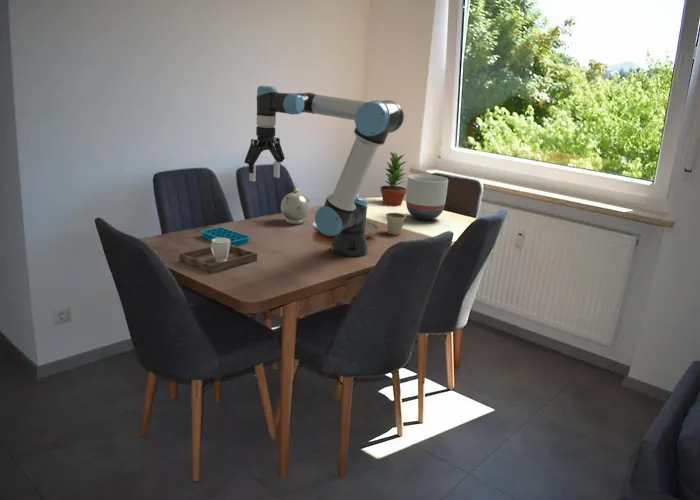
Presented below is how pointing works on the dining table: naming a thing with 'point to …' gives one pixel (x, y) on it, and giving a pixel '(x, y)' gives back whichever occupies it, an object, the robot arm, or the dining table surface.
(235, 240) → the ice cube tray
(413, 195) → the planter
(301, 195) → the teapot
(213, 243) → the cup
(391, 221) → the flower pot
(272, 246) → the dining table surface
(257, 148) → the robot arm
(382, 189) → the potted plant
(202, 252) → the tray
